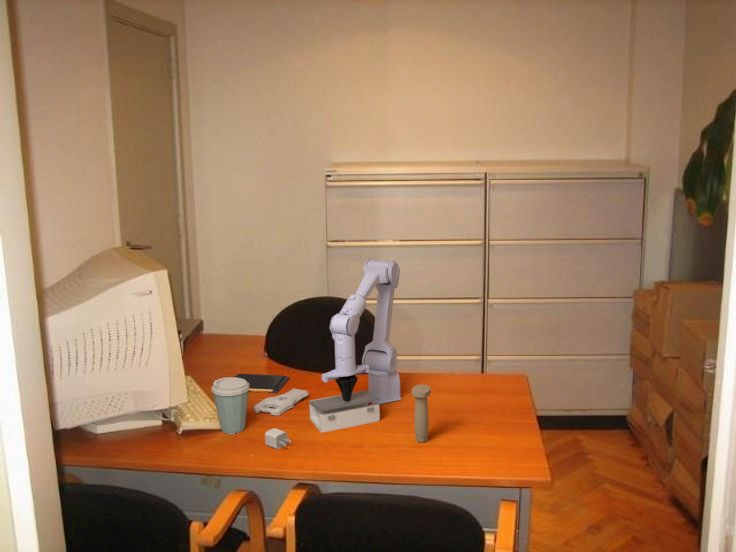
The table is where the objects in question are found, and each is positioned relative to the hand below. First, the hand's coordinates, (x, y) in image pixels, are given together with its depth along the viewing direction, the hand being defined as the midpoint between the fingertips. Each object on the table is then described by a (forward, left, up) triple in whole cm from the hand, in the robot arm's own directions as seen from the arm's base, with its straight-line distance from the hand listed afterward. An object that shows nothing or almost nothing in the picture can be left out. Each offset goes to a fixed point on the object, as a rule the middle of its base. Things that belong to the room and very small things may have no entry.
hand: (346, 400), depth 206 cm
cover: (0, -2, -1) cm, 2 cm away
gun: (+13, -22, -8) cm, 27 cm away
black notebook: (+16, -44, -8) cm, 47 cm away
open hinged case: (0, -2, -7) cm, 8 cm away
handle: (-14, +20, -7) cm, 25 cm away
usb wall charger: (+22, +6, -7) cm, 24 cm away
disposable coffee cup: (+31, -10, -7) cm, 33 cm away
